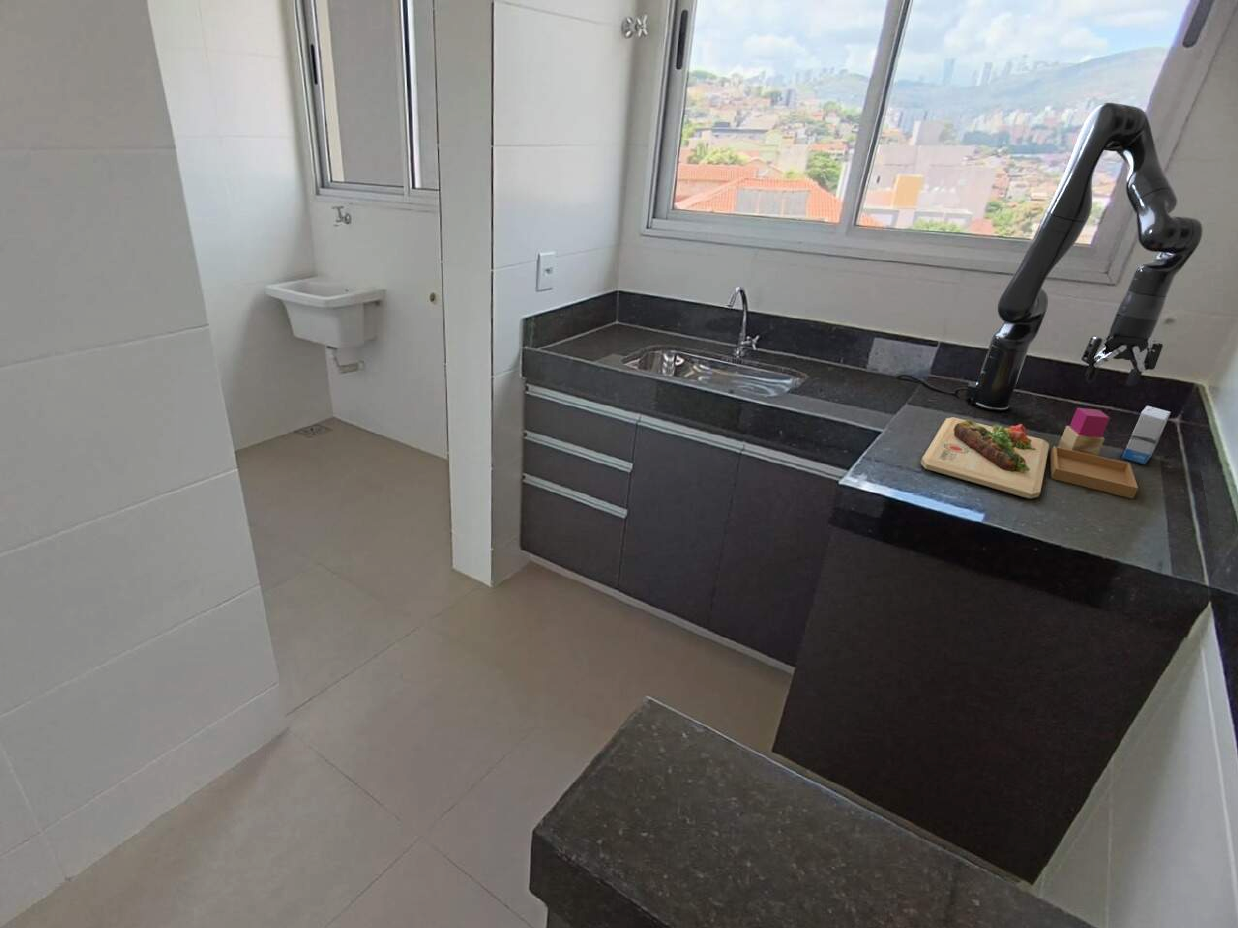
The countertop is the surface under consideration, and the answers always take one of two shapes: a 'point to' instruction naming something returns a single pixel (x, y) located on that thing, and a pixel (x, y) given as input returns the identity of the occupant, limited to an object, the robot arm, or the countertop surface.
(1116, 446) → the countertop surface
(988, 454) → the cutting board
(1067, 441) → the base block
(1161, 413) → the ink box
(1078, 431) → the pink block
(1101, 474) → the tray
